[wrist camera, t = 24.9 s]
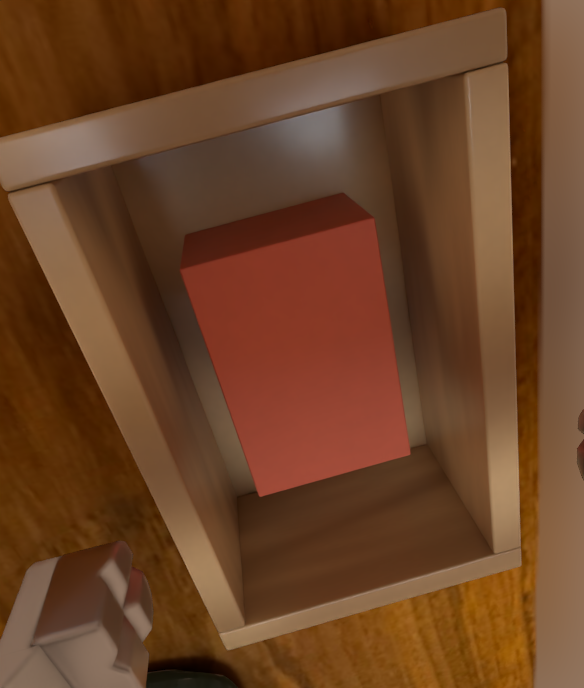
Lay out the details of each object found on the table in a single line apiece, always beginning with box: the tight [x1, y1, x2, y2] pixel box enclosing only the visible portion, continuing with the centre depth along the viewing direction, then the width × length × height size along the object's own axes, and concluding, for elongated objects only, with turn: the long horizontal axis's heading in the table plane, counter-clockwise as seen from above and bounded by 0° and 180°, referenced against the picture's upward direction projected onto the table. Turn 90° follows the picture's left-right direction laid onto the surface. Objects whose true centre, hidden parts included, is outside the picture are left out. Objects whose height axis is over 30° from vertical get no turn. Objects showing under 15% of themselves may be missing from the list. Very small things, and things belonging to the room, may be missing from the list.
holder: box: [0, 7, 521, 650], centre depth 14 cm, size 14×9×6 cm, turn 13°
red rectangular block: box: [180, 193, 411, 497], centre depth 14 cm, size 7×4×3 cm, turn 13°
